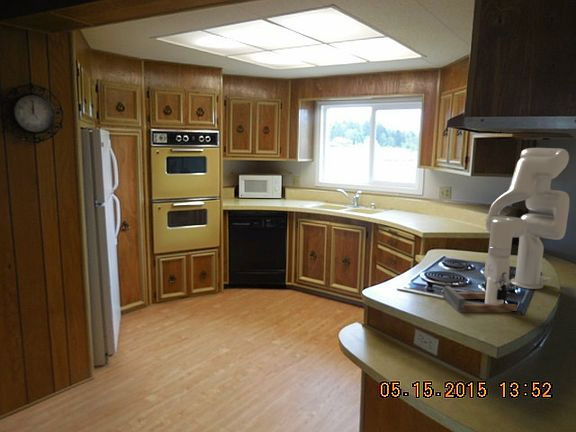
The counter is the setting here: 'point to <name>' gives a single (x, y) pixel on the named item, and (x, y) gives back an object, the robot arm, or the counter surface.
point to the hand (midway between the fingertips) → (494, 295)
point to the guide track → (458, 303)
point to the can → (492, 293)
